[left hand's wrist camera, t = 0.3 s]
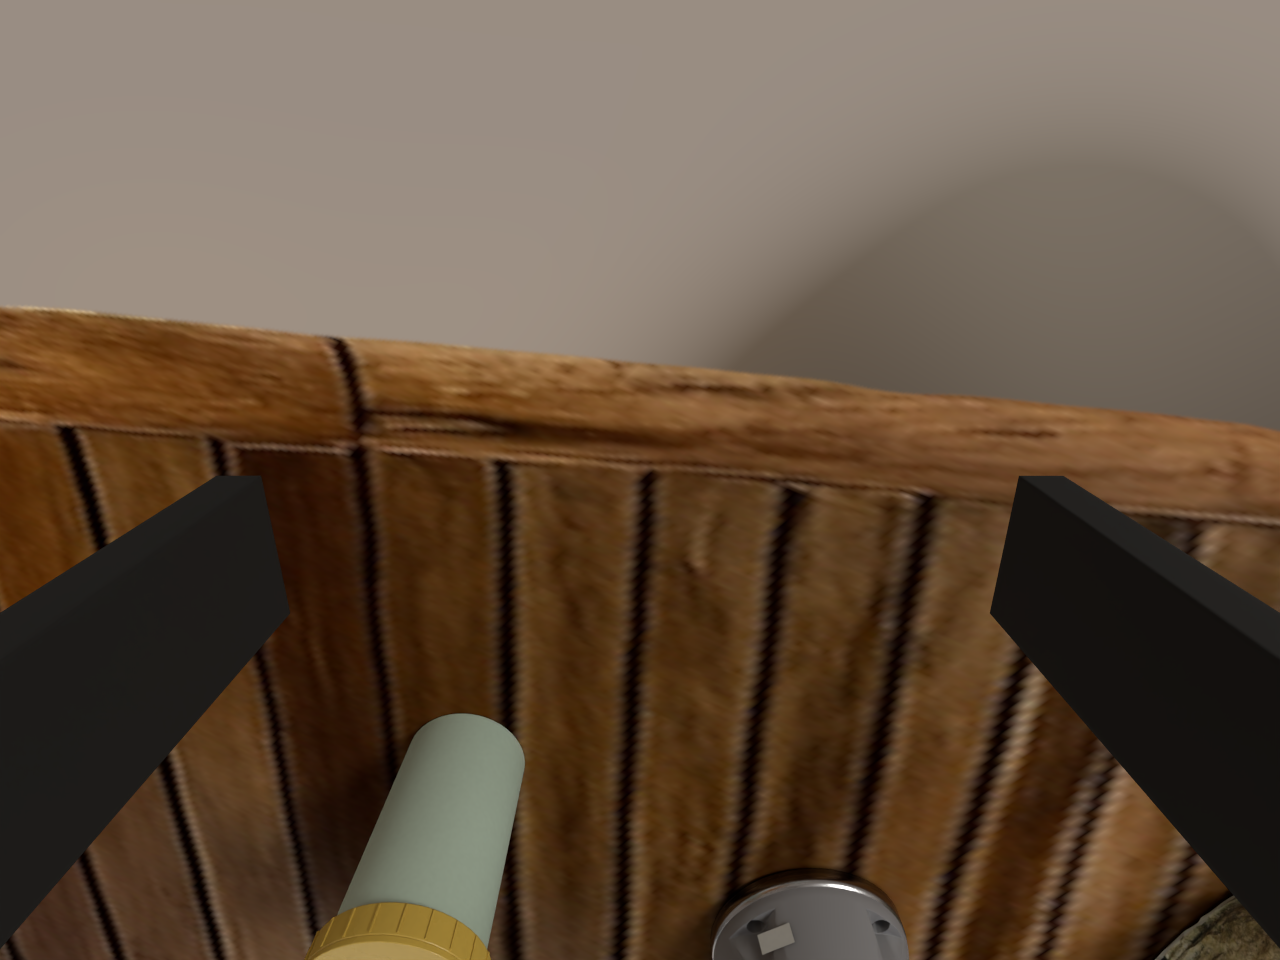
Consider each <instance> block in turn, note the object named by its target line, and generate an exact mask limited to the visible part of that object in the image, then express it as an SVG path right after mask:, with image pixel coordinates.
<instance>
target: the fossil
mask: <svg viewBox="0 0 1280 960" xmlns="http://www.w3.org/2000/svg"><path fill="white" fill-rule="evenodd" d="M1155 960H1280V948H1279V947H1278V946H1277V945H1276V944H1275V943H1274V942H1273V940H1272V939H1271V938H1270V937H1269V936H1268V935H1267V933H1266V932H1265V931H1264V930H1263V929H1262V928H1261V926H1260V925H1259V924H1258V923H1257V922H1256V921H1255V920H1254V918H1253V917H1252V916H1251V915H1250V914H1249V913H1248V911H1247V910H1246V909H1245V908H1244V907H1243V906H1242V904H1241V903H1240V902H1239V901H1238V900H1237V899H1236V898H1235V896H1234V895H1233V896H1232V897H1230V898H1228V899H1227V900H1225V901H1224V902H1222V903H1221V904H1220V905H1218V906H1217V907H1216V908H1215V909H1213V910H1212V911H1211V912H1209V913H1208V914H1206V915H1204V916H1203V917H1201V919H1200V920H1199V922H1198V923H1197V924H1196V925H1194V926H1192V927H1190V928H1189V929H1187V930H1185V931H1184V932H1183V933H1182V934H1181V935H1180V936H1179V937H1178V938H1176V939H1175V940H1174V941H1173V942H1172V943H1171V944H1170V945H1169V946H1168V947H1167V948H1166V949H1165V950H1164V951H1163V952H1162V953H1161V954H1160V955H1159V956H1158V957H1157V958H1156V959H1155Z"/></svg>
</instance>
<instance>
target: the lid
mask: <svg viewBox="0 0 1280 960" xmlns="http://www.w3.org/2000/svg"><path fill="white" fill-rule="evenodd" d="M489 954H490V953H489V952H488V950H487V949H486V947H485V945H484V943H483V942H482V941H481V940H480V938H479V937H478V936H477V935H476V934H475V933H474V932H473V931H472V930H471V929H470V928H468V927H467V926H466V925H465V924H463V923H462V922H460V921H458V920H457V919H455V918H453V917H451V916H449V915H447V914H445V913H443V912H440V911H438V910H435V909H432V908H429V907H425V906H421V905H416V904H410V903H400V902H381V903H372V904H367V905H362V906H358V907H355V908H352V909H349V910H347V911H345V912H343V913H341V914H339V915H337V916H336V917H333V918H332V919H331V920H330V921H329V922H328V923H327V924H325V925H324V926H323V927H322V929H321V930H320V931H317V933H316V936H315V938H314V940H313V942H312V944H311V947H310V948H309V950H308V952H307V954H306V957H305V959H304V960H491V958H490V955H489Z"/></svg>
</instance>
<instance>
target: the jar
mask: <svg viewBox="0 0 1280 960" xmlns="http://www.w3.org/2000/svg"><path fill="white" fill-rule="evenodd" d="M524 767H525V760H524V754H523V750H522V748H521V746H520V744H519V742H518V741H517V739H516V738H515V737H514V736H513V734H512V733H511V732H510V731H508V730H507V729H506V728H505V727H503V726H502V725H501V724H499V723H497V722H495V721H493V720H491V719H488V718H486V717H482V716H479V715H473V714H450V715H445V716H441V717H439V718H436V719H434V720H432V721H430V722H428V723H427V724H426V725H424V726H423V727H422V728H421V729H420V730H419V731H418V732H417V733H416V734H415V736H414V738H413V739H412V741H411V744H410V746H409V748H408V751H407V753H406V755H405V758H404V760H403V762H402V765H401V767H400V769H399V772H398V774H397V776H396V779H395V781H394V783H393V786H392V788H391V790H390V793H389V795H388V797H387V800H386V802H385V804H384V807H383V809H382V811H381V814H380V816H379V818H378V821H377V823H376V825H375V828H374V830H373V832H372V835H371V837H370V839H369V842H368V844H367V846H366V849H365V851H364V853H363V856H362V858H361V860H360V863H359V865H358V867H357V870H356V872H355V874H354V877H353V879H352V881H351V884H350V886H349V888H348V891H347V893H346V895H345V898H344V900H343V902H342V905H341V907H340V909H339V912H338V914H337V915H339V914H341V913H343V912H345V911H347V910H349V909H352V908H355V907H358V906H362V905H367V904H372V903H381V902H400V903H410V904H416V905H421V906H425V907H429V908H432V909H435V910H438V911H440V912H443V913H445V914H447V915H449V916H451V917H453V918H455V919H457V920H458V921H460V922H462V923H463V924H465V925H466V926H467V927H468V928H470V929H471V930H472V931H473V932H474V933H475V934H476V935H477V936H478V937H479V938H480V940H481V941H482V942H483V943H484V945H485V947H486V949H487V947H488V942H489V938H490V933H491V928H492V923H493V918H494V913H495V908H496V904H497V899H498V894H499V889H500V884H501V879H502V875H503V870H504V865H505V860H506V855H507V850H508V845H509V841H510V836H511V831H512V826H513V821H514V816H515V812H516V807H517V802H518V797H519V792H520V787H521V782H522V778H523V773H524Z"/></svg>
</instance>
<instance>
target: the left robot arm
mask: <svg viewBox="0 0 1280 960" xmlns="http://www.w3.org/2000/svg"><path fill="white" fill-rule="evenodd" d="M289 614H290V610H289V606H288V601H287V596H286V592H285V587H284V582H283V577H282V573H281V568H280V563H279V559H278V554H277V549H276V545H275V540H274V535H273V530H272V526H271V521H270V516H269V512H268V507H267V502H266V498H265V493H264V488H263V483H262V479H261V476H216V477H214V478H213V479H211V480H209V481H208V482H206V483H205V484H203V485H202V486H200V487H198V488H197V489H195V490H194V491H192V492H191V493H189V494H187V495H186V496H184V497H183V498H181V499H179V500H178V501H176V502H175V503H173V504H172V505H170V506H168V507H167V508H165V509H164V510H162V511H160V512H159V513H157V514H156V515H154V516H153V517H151V518H149V519H148V520H146V521H145V522H143V523H142V524H140V525H138V526H137V527H135V528H134V529H132V530H130V531H129V532H127V533H126V534H124V535H123V536H121V537H119V538H118V539H116V540H115V541H113V542H112V543H110V544H108V545H107V546H105V547H104V548H102V549H100V550H99V551H97V552H96V553H94V554H93V555H91V556H89V557H88V558H86V559H85V560H83V561H81V562H80V563H78V564H77V565H75V566H74V567H72V568H70V569H69V570H67V571H66V572H64V573H63V574H61V575H59V576H58V577H56V578H55V579H53V580H51V581H50V582H48V583H47V584H45V585H44V586H42V587H40V588H39V589H37V590H36V591H34V592H33V593H31V594H29V595H28V596H26V597H25V598H23V599H21V600H20V601H18V602H17V603H15V604H14V605H12V606H10V607H9V608H7V609H6V610H4V611H2V612H1V613H0V948H1V947H2V946H3V945H4V944H5V943H6V942H7V940H8V939H9V938H10V937H11V936H12V935H13V933H14V932H15V931H16V930H17V929H18V928H19V926H20V925H21V924H22V923H23V922H24V921H25V920H26V918H27V917H28V916H29V915H30V914H31V913H32V911H33V910H34V909H35V908H36V907H37V906H38V904H39V903H40V902H41V901H42V900H43V899H44V898H45V896H46V895H47V894H48V893H49V892H50V891H51V889H52V888H53V887H54V886H55V885H56V884H57V882H58V881H59V880H60V879H61V878H62V877H63V876H64V874H65V873H66V872H67V871H68V870H69V869H70V867H71V866H72V865H73V864H74V863H75V862H76V860H77V859H78V858H79V857H80V856H81V855H82V854H83V852H84V851H85V850H86V849H87V848H88V847H89V845H90V844H91V843H92V842H93V841H94V840H95V838H96V837H97V836H98V835H99V834H100V833H101V832H102V830H103V829H104V828H105V827H106V826H107V825H108V823H109V822H110V821H111V820H112V819H113V818H114V816H115V815H116V814H117V813H118V812H119V811H120V810H121V808H122V807H123V806H124V805H125V804H126V803H127V801H128V800H129V799H130V798H131V797H132V796H133V794H134V793H135V792H136V791H137V790H138V789H139V788H140V786H141V785H142V784H143V783H144V782H145V781H146V779H147V778H148V777H149V776H150V775H151V774H152V772H153V771H154V770H155V769H156V768H157V767H158V766H159V764H160V763H161V762H162V761H163V760H164V759H165V757H166V756H167V755H168V754H169V753H170V752H171V750H172V749H173V748H174V747H175V746H176V745H177V744H178V742H179V741H180V740H181V739H182V738H183V737H184V735H185V734H186V733H187V732H188V731H189V730H190V728H191V727H192V726H193V725H194V724H195V723H196V722H197V720H198V719H199V718H200V717H201V716H202V715H203V713H204V712H205V711H206V710H207V709H208V708H209V706H210V705H211V704H212V703H213V702H214V701H215V700H216V698H217V697H218V696H219V695H220V694H221V693H222V691H223V690H224V689H225V688H226V687H227V686H228V684H229V683H230V682H231V681H232V680H233V679H234V678H235V676H236V675H237V674H238V673H239V672H240V671H241V669H242V668H243V667H244V666H245V665H246V664H247V662H248V661H249V660H250V659H251V658H252V657H253V656H254V654H255V653H256V652H257V651H258V650H259V649H260V647H261V646H262V645H263V644H264V643H265V642H266V640H267V639H268V638H269V637H270V636H271V635H272V634H273V632H274V631H275V630H276V629H277V628H278V627H279V625H280V624H281V623H282V622H283V621H284V620H285V618H286V617H287V616H288V615H289ZM990 614H991V615H992V616H993V617H994V618H995V620H996V621H997V622H998V623H999V624H1000V625H1001V627H1002V628H1003V629H1004V630H1005V631H1006V632H1007V634H1008V635H1009V636H1010V637H1011V638H1012V639H1013V640H1014V642H1015V643H1016V644H1017V645H1018V646H1019V647H1020V649H1021V650H1022V651H1023V652H1024V653H1025V654H1026V656H1027V657H1028V658H1029V659H1030V660H1031V661H1032V662H1033V664H1034V665H1035V666H1036V667H1037V668H1038V669H1039V671H1040V672H1041V673H1042V674H1043V675H1044V676H1045V678H1046V679H1047V680H1048V681H1049V682H1050V683H1051V684H1052V686H1053V687H1054V688H1055V689H1056V690H1057V691H1058V693H1059V694H1060V695H1061V696H1062V697H1063V698H1064V700H1065V701H1066V702H1067V703H1068V704H1069V705H1070V706H1071V708H1072V709H1073V710H1074V711H1075V712H1076V713H1077V715H1078V716H1079V717H1080V718H1081V719H1082V720H1083V722H1084V723H1085V724H1086V725H1087V726H1088V727H1089V728H1090V730H1091V731H1092V732H1093V733H1094V734H1095V735H1096V737H1097V738H1098V739H1099V740H1100V741H1101V742H1102V744H1103V745H1104V746H1105V747H1106V748H1107V749H1108V750H1109V752H1110V753H1111V754H1112V755H1113V756H1114V757H1115V759H1116V760H1117V761H1118V762H1119V763H1120V764H1121V766H1122V767H1123V768H1124V769H1125V770H1126V771H1127V772H1128V774H1129V775H1130V776H1131V777H1132V778H1133V779H1134V781H1135V782H1136V783H1137V784H1138V785H1139V786H1140V788H1141V789H1142V790H1143V791H1144V792H1145V793H1146V794H1147V796H1148V797H1149V798H1150V799H1151V800H1152V801H1153V803H1154V804H1155V805H1156V806H1157V807H1158V808H1159V810H1160V811H1161V812H1162V813H1163V814H1164V815H1165V816H1166V818H1167V819H1168V820H1169V821H1170V822H1171V823H1172V825H1173V826H1174V827H1175V828H1176V829H1177V830H1178V832H1179V833H1180V834H1181V835H1182V836H1183V837H1184V838H1185V840H1186V841H1187V842H1188V843H1189V844H1190V845H1191V847H1192V848H1193V849H1194V850H1195V851H1196V852H1197V854H1198V855H1199V856H1200V857H1201V858H1202V859H1203V860H1204V862H1205V863H1206V864H1207V865H1208V866H1209V867H1210V869H1211V870H1212V871H1213V872H1214V873H1215V874H1216V876H1217V877H1218V878H1219V879H1220V880H1221V881H1222V882H1223V884H1224V885H1225V886H1226V887H1227V888H1228V889H1229V891H1230V892H1231V893H1232V894H1233V895H1234V896H1235V898H1236V899H1237V900H1238V901H1239V902H1240V903H1241V904H1242V906H1243V907H1244V908H1245V909H1246V910H1247V911H1248V913H1249V914H1250V915H1251V916H1252V917H1253V918H1254V920H1255V921H1256V922H1257V923H1258V924H1259V925H1260V926H1261V928H1262V929H1263V930H1264V931H1265V932H1266V933H1267V935H1268V936H1269V937H1270V938H1271V939H1272V940H1273V942H1274V943H1275V944H1276V945H1277V946H1278V947H1279V948H1280V613H1279V612H1278V611H1276V610H1274V609H1273V608H1271V607H1270V606H1268V605H1266V604H1265V603H1263V602H1262V601H1260V600H1259V599H1257V598H1255V597H1254V596H1252V595H1251V594H1249V593H1247V592H1246V591H1244V590H1243V589H1241V588H1240V587H1238V586H1236V585H1235V584H1233V583H1232V582H1230V581H1229V580H1227V579H1225V578H1224V577H1222V576H1221V575H1219V574H1217V573H1216V572H1214V571H1213V570H1211V569H1210V568H1208V567H1206V566H1205V565H1203V564H1202V563H1200V562H1199V561H1197V560H1195V559H1194V558H1192V557H1191V556H1189V555H1187V554H1186V553H1184V552H1183V551H1181V550H1180V549H1178V548H1176V547H1175V546H1173V545H1172V544H1170V543H1168V542H1167V541H1165V540H1164V539H1162V538H1161V537H1159V536H1157V535H1156V534H1154V533H1153V532H1151V531H1150V530H1148V529H1146V528H1145V527H1143V526H1142V525H1140V524H1138V523H1137V522H1135V521H1134V520H1132V519H1131V518H1129V517H1127V516H1126V515H1124V514H1123V513H1121V512H1120V511H1118V510H1116V509H1115V508H1113V507H1112V506H1110V505H1108V504H1107V503H1105V502H1104V501H1102V500H1101V499H1099V498H1097V497H1096V496H1094V495H1093V494H1091V493H1089V492H1088V491H1086V490H1085V489H1083V488H1082V487H1080V486H1078V485H1077V484H1075V483H1074V482H1072V481H1071V480H1069V479H1067V478H1066V477H1064V476H1019V479H1018V483H1017V488H1016V493H1015V498H1014V502H1013V507H1012V512H1011V516H1010V521H1009V526H1008V530H1007V535H1006V540H1005V545H1004V549H1003V554H1002V559H1001V563H1000V568H999V573H998V577H997V582H996V587H995V592H994V596H993V601H992V606H991V610H990ZM711 950H712V960H909V953H908V946H907V939H906V934H905V931H904V928H903V925H902V923H901V920H900V917H899V915H898V912H897V910H896V908H895V906H894V904H893V903H892V901H891V900H890V898H889V897H888V896H887V895H886V894H885V893H884V892H883V891H882V890H881V889H879V888H878V887H877V886H875V885H874V884H872V883H870V882H869V881H867V880H865V879H863V878H860V877H858V876H855V875H852V874H849V873H845V872H841V871H836V870H829V869H799V870H791V871H786V872H781V873H778V874H774V875H771V876H768V877H765V878H763V879H760V880H758V881H756V882H754V883H752V884H750V885H748V886H747V887H745V888H744V889H742V890H741V891H739V892H738V893H737V894H735V895H734V896H733V897H732V898H731V899H730V900H729V901H728V902H727V903H726V904H725V905H724V906H723V908H722V909H721V910H720V912H719V914H718V915H717V917H716V919H715V922H714V924H713V928H712V932H711Z"/></svg>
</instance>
